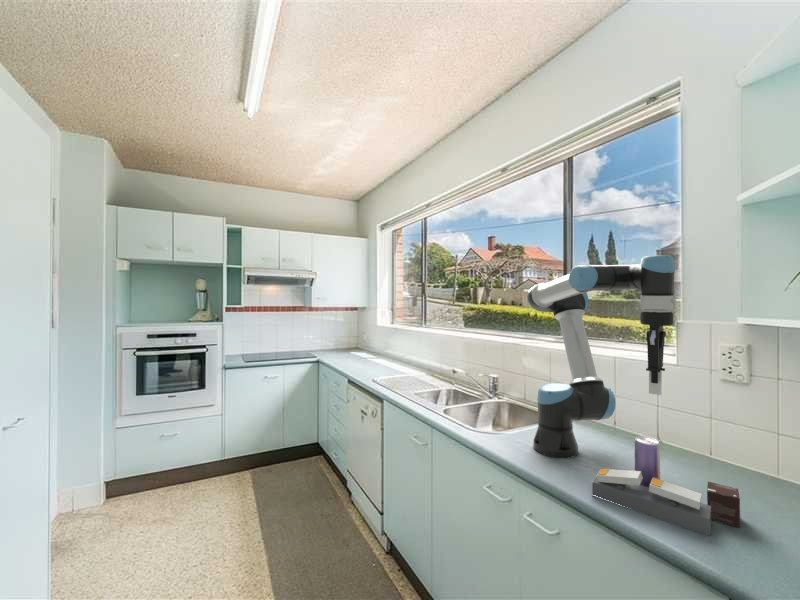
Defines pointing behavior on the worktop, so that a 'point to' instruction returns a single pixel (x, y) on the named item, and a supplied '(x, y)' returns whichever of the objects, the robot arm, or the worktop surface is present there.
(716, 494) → the box
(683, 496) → the rocker right
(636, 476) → the block
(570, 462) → the worktop surface
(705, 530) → the switch panel
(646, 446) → the beverage can
